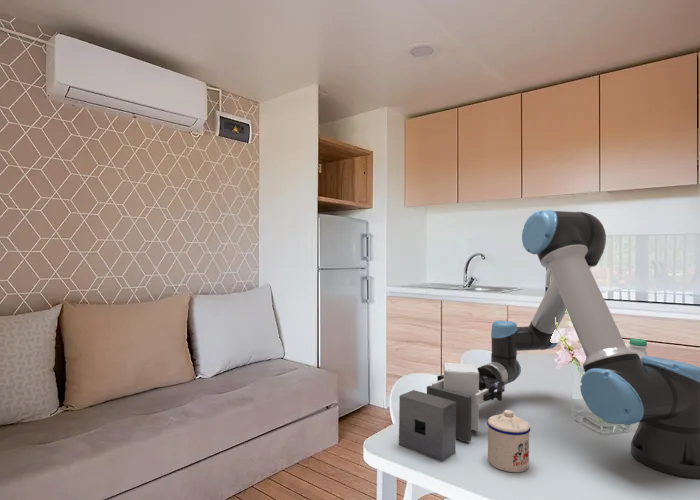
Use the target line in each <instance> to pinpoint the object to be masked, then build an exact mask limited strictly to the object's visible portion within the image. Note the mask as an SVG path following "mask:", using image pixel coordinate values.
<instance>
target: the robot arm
mask: <svg viewBox="0 0 700 500" xmlns="http://www.w3.org/2000/svg"><path fill="white" fill-rule="evenodd" d="M521 242H522V245H523V246H522V247H523V248H524V249H525V250H526V252H527V253H530V254H532V255H537V257H538V259H539V262H540V264H541V265H540V266H542V267H543V268H546V269H549V271H550V272H551V275H552V277H553V278H552V280H551V282H550V283H549V286H548V288H547V289H546V291H545V293H544V296H543V298H542V300H541V302H539V306H538V307H537V309H536V311H535V314H534V316H533V317H532V320H531V321H530V323H529V325H528V326H518V324H517V323H516V322H515V321H511V320H495V321H493V322H492V324H491V331H490V332H491V333H490V337H491V354H490V355H491V356H490V359H491V360H490V362H489V363H487V364H484V365H482V366H479V367H477V369H478V372H479V392H478V393H476V394H474V405H476V406H478V405H482V404H484V403H485V402H489V401H493V400H495V399H496V400H497V401H499V402H502V401H503V393H504V392H505V390H506V389H505V386H506V385H507V384H510V383H513V382H514V381H516V380H517V378H518V377H519V376H520V375H521V373H522V367H521V364H520V362H519V361H518V360H517V353H518V352H521V351H522V352H525V351H539V350H540V351H546V350H550V349H553V348H555V347H557V345H558V343H551V342H550V339H551V336H552V334H553V332H554V330H555V329H556V330H558V328H559V326H560V324H561V322H562V320H563V319H564V317H565V315H566V314H568V316H569V318H570V321H571V324H572V326H573V329H574V331H575V333H576V335H577V338H578V340H579V344H580V346H581V348H582V350H583V353H584V355H585V357H586V358H585V361H584V363H583V365H582V368H583V370H584V373H583V375H582V376H581V379H580V383H581V384H580V386H579V387H580V393H581V396H582V399H583V401H584V403H585V404H586V406H587V408H588V409H589V410H590V411H591V412H592V413H593V414H594V415H595V416H596V417H598V418H599V419H600V420H602V421H604V422H606V423H608V424H613V425H626V426H627V425H629V426H630V425H634V424H635V425H636V424H637V423H638V425H637V427H636V430H635V432H634V435H633V437H632V440H631V442H630V443H631V444H630V454H631V456H632V457H633V459H635V460H636V461H638V462H640V463H641V464H643V465H645V466H646V467H649V468H652V469H654V470H657V471H659V472H661V473H666V474H669V475H673V476H676V477H682V478H688V479H689V478H690V479H700V367H698V366H697V365H694V364H691V363H687V362H683V361H680V360H674V359H669V358H665V357H657V356H650V355H648V356H643V357H642V358H641V359H640V357H639V355H638V353H636V352H634V351H632V350H630V348H628V347H627V345H626V344H625V341H624V340H623V339H624V338H623V337H622V335H621V331H619V328H618V326H617V323H616V322H615V320H614V317H613V316H612V312H611V311H610V309H609V307H608V305H607V302H606V300H605V298H604V296H603V294H602V292H601V290H600V288H599V286H598V283H597V281H596V279H595V276H594V275H593V273H592V270H591V268H594V267H596V266H598V264H599V262H600V261H601V258H602V256H603V254H604V250H605V248H606V243H607V234H606V230H605V228H604V225H603V223H602V222H601V221H600V220H599V219H598V218H597V217H596V216H594V215H592V214H591V213H588V212H583V211H564V210H563V211H562V210H561V211H560V210H558V211H557V210H553V209H547V210H538V211H535V212H534V213H532V214H531V215H530V216H528V218H527V219H526V221H525V223H524V225H523V228H522V231H521ZM566 309H567V311H566ZM565 311H566V312H565ZM555 317H556V322H558V326H557V327H558V328H557V327H556V325H555ZM436 377H437V381H435V382H433V383H431V386H434V387H438V388H442V389H444V374H441V375H437V376H436Z"/></svg>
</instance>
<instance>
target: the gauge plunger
mask: <svg viewBox="0 0 700 500" xmlns="http://www.w3.org/2000/svg"><path fill="white" fill-rule="evenodd" d="M426 394H430V395H433V396H437V397H441V398H444V399H448V400H452V401H455V402H456V440H460V441H463V442H465V443H470V442H471V441H472V430H471V396H469V395H465V394H461V393H458V392H454V391H450V390H446V389H442V388H438V387H434V386H432V385H427V386H426Z"/></svg>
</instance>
